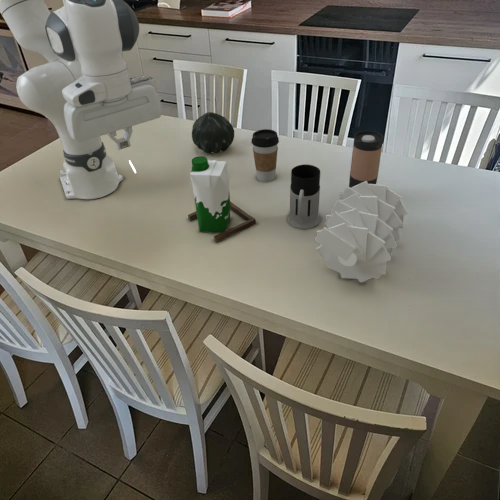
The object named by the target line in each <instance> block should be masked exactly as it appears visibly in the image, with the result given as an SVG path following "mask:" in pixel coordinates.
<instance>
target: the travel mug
mask: <svg viewBox="0 0 500 500" xmlns="http://www.w3.org/2000/svg"><path fill="white" fill-rule="evenodd" d="M383 143H384V136H383V134H381V132H378V131H375V130H361V131H358V132H356V133H354V137H353V143H352V144H353V145H352V152H351V153H352V154H351V161H350V170H349V182H348V187H350V188H352V187H353V186H356V185H358V184H360V183H363V182H365V181H367V182H368V184H378V178H379V177H378V176H379V170H380V163H381V157H382V150H383Z"/></svg>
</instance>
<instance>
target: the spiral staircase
mask: <svg viewBox="0 0 500 500" xmlns="http://www.w3.org/2000/svg"><path fill="white" fill-rule="evenodd" d="M402 199H403V196H402V195H400V194H398V193H396V192H395V191H394V190H391V189H390V188H387V184H378V183H376V184H368V182H367V181H365V182H363V183H360V184H358V185H356V186H353V187H352V188H350V187H349V185H347V186H346V188H344V190H343V192H339V198H338V199H337V200H336V202H335V204H334V205H332V207H331V211H330V214H326V215H325V218H326V221H325V223H324V224H325V226H327V227H325V226H323V228H322V229H321V230H320V229H319V230H316V235H317V236H316V237H315V239H314V241H315V242H316V243H318V244H319V246H318V247H316V249H315V250H316V251H317V252H318V253H319V255H320V256H321V257H322V258H323V259H324V260H325V261H326V263H325V267H326V268H329V269H330V270H333V271H335V272H337V273H339V274H340V279H357V280H358V282H359V283H360V284H362V283H364V282H366V281H368V280H370V279H372V278H374V279H376V280H380V279H381V277H382V275H384V276H386V275H387V266H388V262H390V261H392V252H393V248H397V247H398V244H397V242H396V241H400V229H403V228H404V218H405V215H408V214H409V212H408V211H407V209H406V207H405V205H404V204H403V201H402Z"/></svg>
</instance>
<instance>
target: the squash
mask: <svg viewBox="0 0 500 500" xmlns="http://www.w3.org/2000/svg"><path fill="white" fill-rule="evenodd" d="M191 139H192V142H193V144H194V145H195V146H196V147H197V148H198V150H201V151H203V152H204V153H205V154H206V155H210V154H212V153H213V154H214V155H217V154H219V153H220V152H226V151H228V149H230V146H231V145H232V144H233V143H234V139H235V129H234V126H233V125H232V123H231V122H230V121H229V120H228V119H227V118H226V117H225V116H223V115H220V114H219V113H216V112H212V111H211V112H205V113H204V114H202V115H201V116H199V117H198V118H197V119H195V121H194V122H193V124H192V128H191Z"/></svg>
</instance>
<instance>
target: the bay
mask: <svg viewBox="0 0 500 500" xmlns="http://www.w3.org/2000/svg"><path fill="white" fill-rule="evenodd" d="M230 206H231V212H233V213H235V214H236V215H238V216H239V217H241V218H242V220H244V221H243V222H241V223H239V224H236V225H234V226H232V227H230V228H227V229H226V231H224V232H222V233H217V234H215V235H214V236H213V240H214V242H215V243H219V242H221V241H223V240H226V239H227V238H229V237H232V236H235V235H236V234H238V233H240V232H243V231H245V230H247V229H248V228H250V227H252V226H254V225H256V224H257V219H256V218H255V217H253V216H252V215H250V214H249V213H248V212H246V211H244V210H243V209H242V208H240V207H239V206H238V205H236V204H235V203H233V202H232V201H230ZM187 218H188V219H187V220H188V221H190V222H191V221H193V220H197V213H196V211H193V212H191V213H189V214H187Z"/></svg>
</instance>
